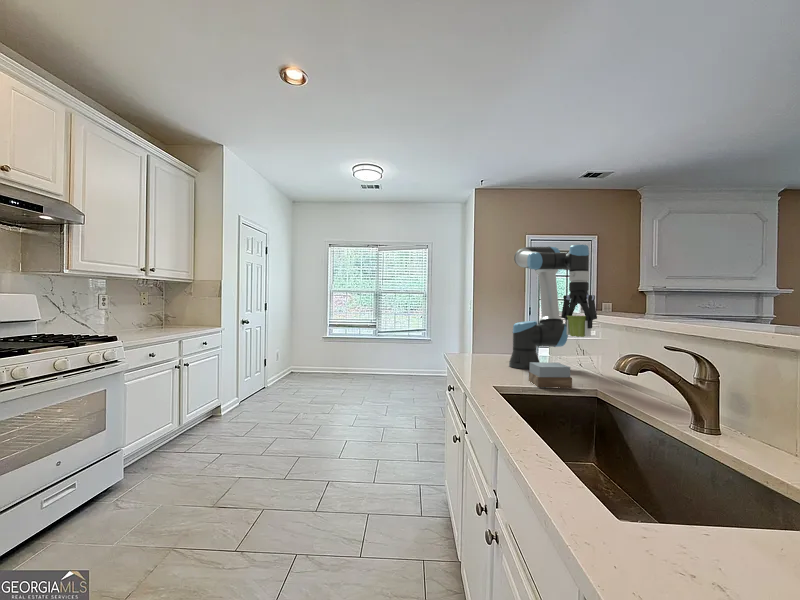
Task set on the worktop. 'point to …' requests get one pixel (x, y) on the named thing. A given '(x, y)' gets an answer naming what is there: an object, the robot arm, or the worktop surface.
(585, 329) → the robot arm
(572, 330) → the plant pot
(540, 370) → the slate top block
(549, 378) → the walnut base block
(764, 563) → the worktop surface
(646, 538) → the worktop surface
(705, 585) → the worktop surface
